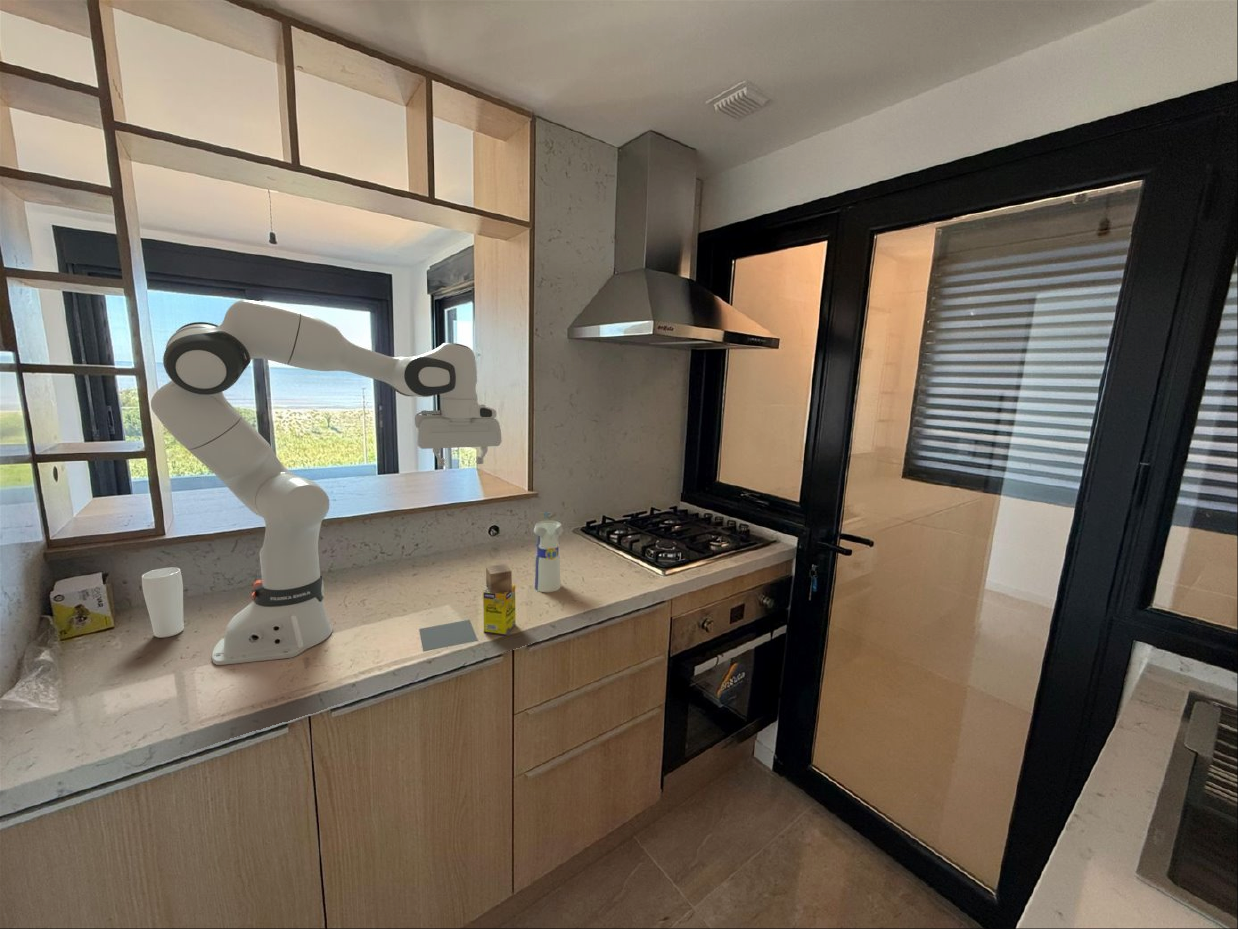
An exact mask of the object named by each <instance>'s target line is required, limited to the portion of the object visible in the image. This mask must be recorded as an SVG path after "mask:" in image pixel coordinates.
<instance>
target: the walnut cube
mask: <svg viewBox="0 0 1238 929" xmlns="http://www.w3.org/2000/svg"><path fill="white" fill-rule="evenodd" d="M485 574H486V575H485V576H486V577H485V580H486V581H485V582H486V583H485V584H486V588H487V589H488V590H489V592H490V594H495V593H501V592H507V591H512V585H513V584H512V580H513V579H512V578H513V577H512V576H513V575H512V569H511V568H510V567H509V565H508V564H507V563H503V564H497V565H496V564H495V565H488V566H486V567H485Z"/></svg>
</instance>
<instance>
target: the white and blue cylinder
mask: <svg viewBox="0 0 1238 929" xmlns="http://www.w3.org/2000/svg"><path fill="white" fill-rule="evenodd" d="M539 514H540V515H541V516H542V520H541V521H538V522H537V523H535V525H534V528H533V533H534V534H535V535H537V540H536V542H535V546H536V556H535V568H534V569H535V573H534V574H535V578H534V590H536V591H537V592H540V593H541V592H542V593H553V592H556V591H558V590H560V589H561V558H560V554H559V547H560V544H561V543H560V541H559V537H560V536H562V535H563V532H564V530H563V526H562V523H561V522H559V521H556V520H550V516H551V515H552V512H548V510H547V509H545V510H544V511H543V512H540V513H539Z"/></svg>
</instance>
